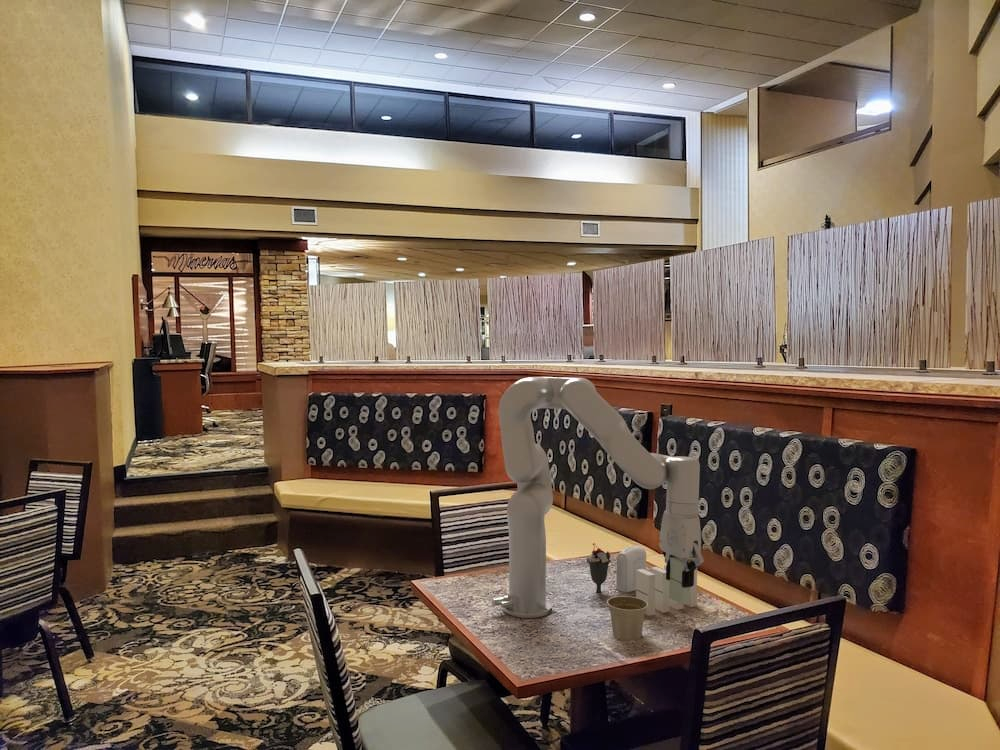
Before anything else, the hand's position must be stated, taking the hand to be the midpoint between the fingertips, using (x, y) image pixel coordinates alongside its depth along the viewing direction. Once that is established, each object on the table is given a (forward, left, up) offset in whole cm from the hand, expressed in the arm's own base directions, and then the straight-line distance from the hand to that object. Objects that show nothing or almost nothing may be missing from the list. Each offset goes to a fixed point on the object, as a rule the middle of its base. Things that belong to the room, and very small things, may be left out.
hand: (679, 582), depth 164 cm
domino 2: (+1, +9, -10) cm, 13 cm away
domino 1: (-4, +9, -10) cm, 13 cm away
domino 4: (+10, +9, -10) cm, 16 cm away
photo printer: (+5, +26, -11) cm, 28 cm away
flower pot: (-16, -1, -11) cm, 20 cm away
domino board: (0, +9, -11) cm, 14 cm away
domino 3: (+5, +9, -10) cm, 14 cm away
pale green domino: (0, 0, -5) cm, 5 cm away
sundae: (-6, +26, -11) cm, 28 cm away
